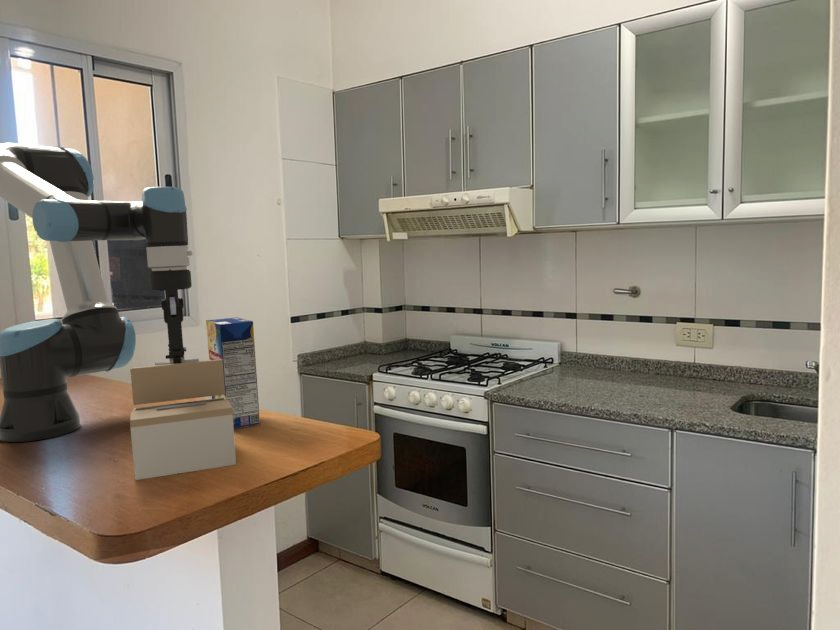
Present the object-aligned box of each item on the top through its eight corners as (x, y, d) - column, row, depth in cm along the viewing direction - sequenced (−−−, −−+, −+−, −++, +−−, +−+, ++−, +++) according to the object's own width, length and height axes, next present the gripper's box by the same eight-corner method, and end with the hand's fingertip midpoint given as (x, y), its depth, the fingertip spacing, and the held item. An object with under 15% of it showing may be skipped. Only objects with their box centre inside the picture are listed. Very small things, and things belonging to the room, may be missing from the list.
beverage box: (227, 430, 133) (220, 324, 130) (213, 419, 142) (205, 320, 140) (260, 424, 136) (253, 321, 134) (243, 414, 146) (237, 317, 143)
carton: (138, 455, 118) (133, 400, 117) (228, 442, 124) (224, 390, 123) (135, 480, 105) (129, 418, 104) (236, 464, 111) (231, 406, 110)
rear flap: (133, 405, 117) (135, 396, 124) (225, 394, 123) (221, 386, 130) (130, 368, 116) (132, 361, 123) (222, 359, 122) (219, 353, 129)
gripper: (192, 269, 117) (201, 395, 119) (188, 267, 133) (197, 377, 136) (147, 271, 114) (158, 400, 116) (149, 269, 131) (158, 381, 133)
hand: (179, 387), depth 126 cm, fingers open, 5 cm apart
